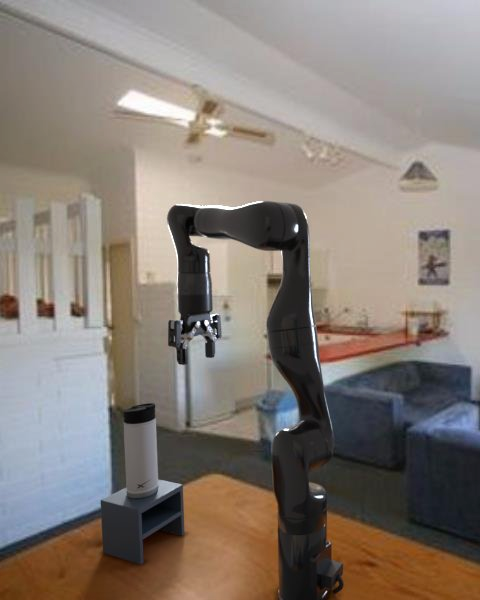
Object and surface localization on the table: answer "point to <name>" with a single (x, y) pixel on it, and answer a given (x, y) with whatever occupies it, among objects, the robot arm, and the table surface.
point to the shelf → (140, 519)
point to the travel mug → (140, 450)
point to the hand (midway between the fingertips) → (197, 360)
